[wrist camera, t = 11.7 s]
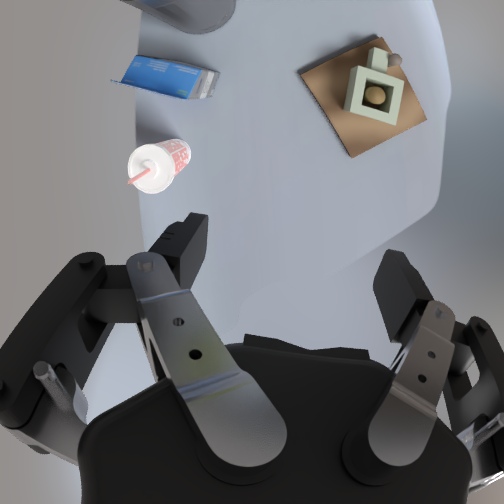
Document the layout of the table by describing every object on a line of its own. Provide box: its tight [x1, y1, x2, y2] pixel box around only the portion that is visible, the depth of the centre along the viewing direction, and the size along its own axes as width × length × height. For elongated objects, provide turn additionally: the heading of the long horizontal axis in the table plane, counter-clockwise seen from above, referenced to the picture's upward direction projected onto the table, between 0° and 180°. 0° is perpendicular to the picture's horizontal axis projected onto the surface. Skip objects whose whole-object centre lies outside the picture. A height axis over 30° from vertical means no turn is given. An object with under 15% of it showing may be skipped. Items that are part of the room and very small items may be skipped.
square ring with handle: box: [343, 47, 404, 126], centre depth 28 cm, size 10×6×4 cm, turn 172°
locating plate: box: [300, 37, 427, 158], centre depth 29 cm, size 13×13×4 cm
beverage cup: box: [127, 139, 191, 194], centre depth 32 cm, size 6×6×14 cm
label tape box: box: [111, 55, 220, 100], centre depth 27 cm, size 9×4×12 cm, turn 69°
